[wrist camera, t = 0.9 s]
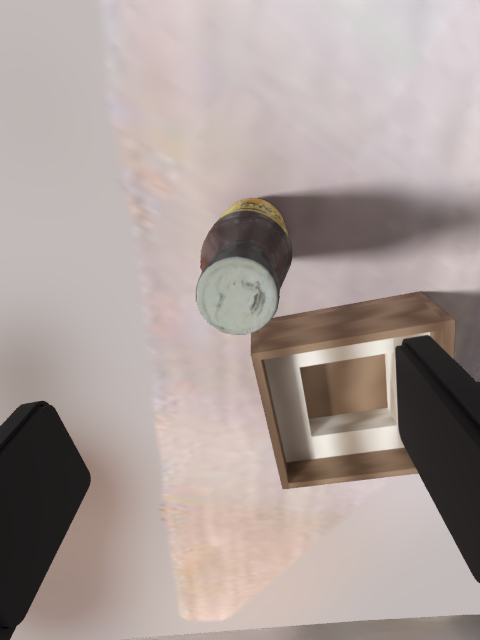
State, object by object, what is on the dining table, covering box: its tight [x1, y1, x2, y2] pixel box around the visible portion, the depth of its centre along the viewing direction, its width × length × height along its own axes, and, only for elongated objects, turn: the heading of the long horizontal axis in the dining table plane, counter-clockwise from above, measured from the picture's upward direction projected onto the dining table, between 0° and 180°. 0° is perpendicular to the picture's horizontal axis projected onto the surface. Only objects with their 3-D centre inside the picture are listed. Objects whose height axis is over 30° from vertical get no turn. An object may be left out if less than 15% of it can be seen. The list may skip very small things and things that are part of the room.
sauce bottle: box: [196, 198, 292, 335], centre depth 26 cm, size 6×6×20 cm
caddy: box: [251, 292, 455, 489], centre depth 38 cm, size 18×18×7 cm
